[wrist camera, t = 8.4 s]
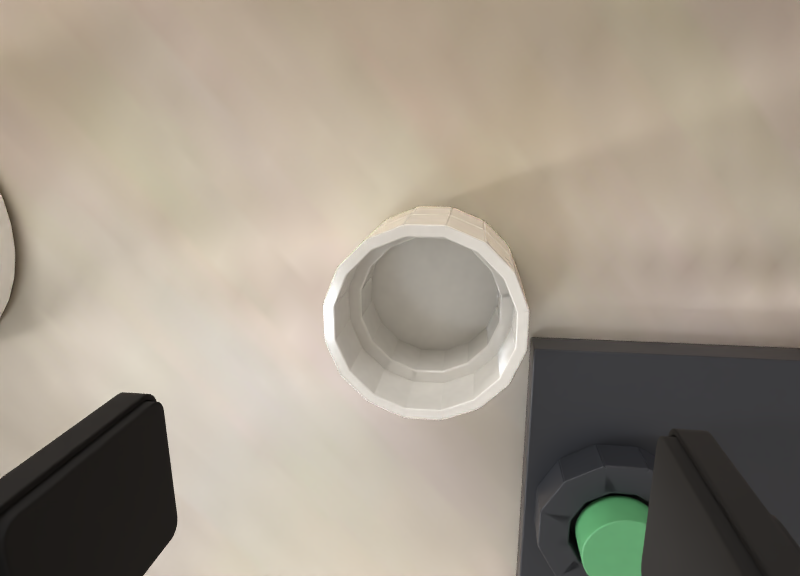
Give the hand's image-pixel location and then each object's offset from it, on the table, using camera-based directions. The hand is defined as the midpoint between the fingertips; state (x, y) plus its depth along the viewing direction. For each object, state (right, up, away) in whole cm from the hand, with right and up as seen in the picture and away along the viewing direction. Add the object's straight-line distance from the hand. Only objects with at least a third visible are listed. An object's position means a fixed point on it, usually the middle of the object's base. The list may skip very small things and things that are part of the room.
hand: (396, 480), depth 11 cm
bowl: (+2, +4, +13) cm, 14 cm away
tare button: (+9, -6, +12) cm, 16 cm away
